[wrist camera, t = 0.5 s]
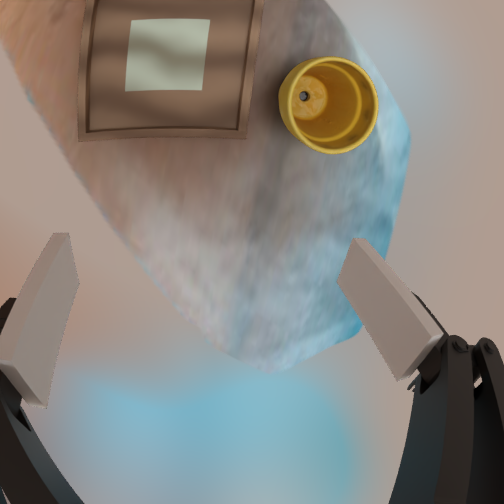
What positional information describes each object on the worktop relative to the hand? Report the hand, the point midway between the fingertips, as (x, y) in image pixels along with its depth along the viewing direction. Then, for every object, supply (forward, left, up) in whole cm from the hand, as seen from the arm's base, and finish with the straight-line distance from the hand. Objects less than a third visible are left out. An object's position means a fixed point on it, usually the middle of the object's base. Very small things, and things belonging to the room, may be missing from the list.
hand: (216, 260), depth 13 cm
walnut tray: (-10, -4, -26) cm, 28 cm away
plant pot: (-6, +13, -26) cm, 30 cm away
